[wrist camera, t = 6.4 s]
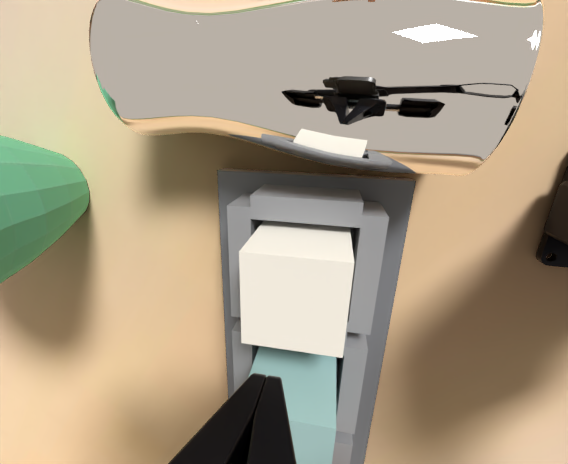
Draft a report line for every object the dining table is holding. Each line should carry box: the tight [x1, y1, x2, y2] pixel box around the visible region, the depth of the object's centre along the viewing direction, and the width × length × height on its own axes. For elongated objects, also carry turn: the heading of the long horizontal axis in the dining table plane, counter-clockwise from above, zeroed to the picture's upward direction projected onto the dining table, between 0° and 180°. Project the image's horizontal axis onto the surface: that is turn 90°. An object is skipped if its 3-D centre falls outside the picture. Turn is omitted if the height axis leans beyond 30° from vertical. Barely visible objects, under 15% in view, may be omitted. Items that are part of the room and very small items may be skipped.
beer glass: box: [89, 0, 544, 176], centre depth 12 cm, size 7×7×15 cm
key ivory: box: [239, 220, 354, 358], centre depth 14 cm, size 4×4×5 cm
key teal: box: [249, 346, 336, 464], centre depth 16 cm, size 4×4×5 cm
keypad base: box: [217, 168, 416, 464], centre depth 19 cm, size 11×24×4 cm, turn 178°
